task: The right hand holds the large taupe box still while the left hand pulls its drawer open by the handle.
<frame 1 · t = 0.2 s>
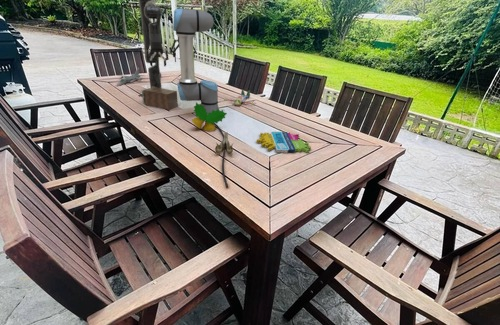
left hand: (158, 66, 182), 29 cm above the table, tool pointing down, fingers open, 8 cm apart
right hand: (184, 62, 211), 28 cm above the table, tool pointing down, fingers open, 13 cm apart
large taupe box: (162, 105, 198), on the table
airplane: (131, 81, 257), on the table
ornament: (209, 128, 165), on the table
toy: (241, 101, 221), on the table
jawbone: (224, 151, 138), on the table
sign: (281, 143, 152), on the table
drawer: (154, 96, 197), point 6 cm above the table, slide at 1.6 cm
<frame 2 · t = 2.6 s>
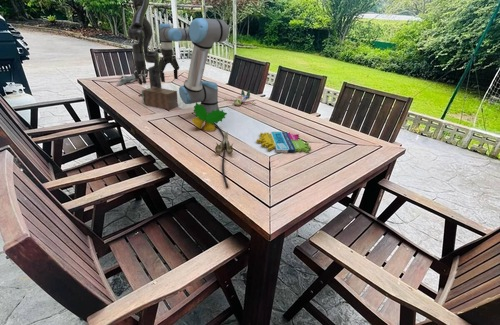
left hand: (142, 83, 196), 14 cm above the table, tool pointing down, fingers open, 3 cm apart
right hand: (169, 80, 190), 19 cm above the table, tool pointing down, fingers open, 13 cm apart
nothing on the table moved.
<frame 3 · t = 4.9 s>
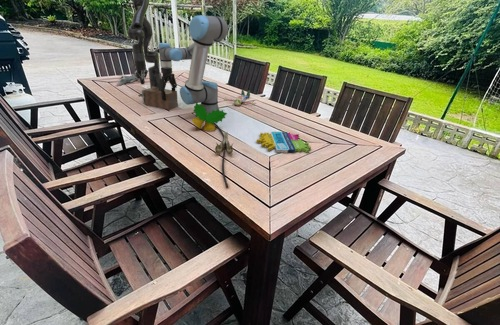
left hand: (142, 84, 196), 14 cm above the table, tool pointing down, fingers closed
right hand: (169, 98, 193), 7 cm above the table, tool pointing down, fingers closed on large taupe box, 11 cm apart
large taupe box: (162, 105, 198), on the table, touching right hand
everything else where it was.
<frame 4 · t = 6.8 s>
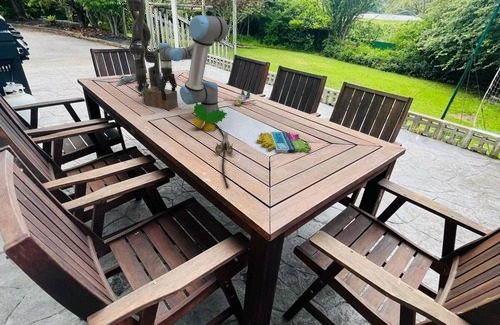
left hand: (144, 97, 201), 4 cm above the table, tool pointing down, fingers closed
right hand: (169, 98, 193), 7 cm above the table, tool pointing down, fingers closed on large taupe box, 11 cm apart
large taupe box: (162, 105, 198), on the table, touching right hand
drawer: (154, 96, 197), point 6 cm above the table, slide at 1.7 cm, touching left hand
everything else where it was.
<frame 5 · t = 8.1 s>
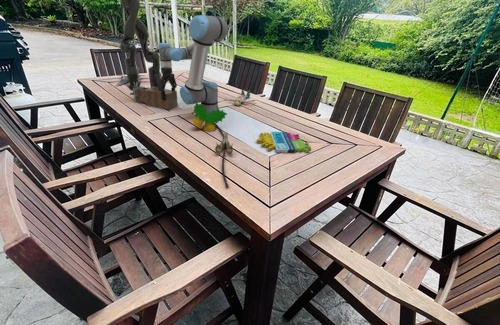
left hand: (135, 95, 203), 4 cm above the table, tool pointing down, fingers closed
right hand: (168, 98, 193), 7 cm above the table, tool pointing down, fingers closed on large taupe box, 11 cm apart
large taupe box: (161, 105, 198), on the table, touching right hand
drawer: (145, 95, 200), point 6 cm above the table, slide at 9.7 cm, touching left hand
everything else where it was.
when the right hand's fingers open (7 cm above the table, at t = 9.8 s): large taupe box stays where it is, on the table.
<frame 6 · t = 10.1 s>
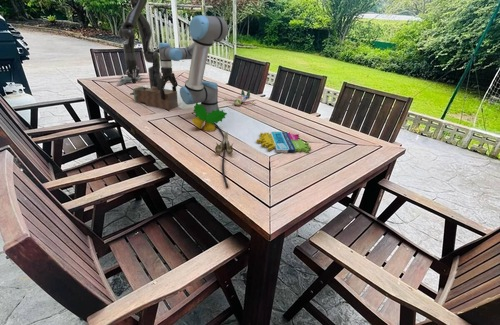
left hand: (134, 83, 199), 13 cm above the table, tool pointing down, fingers closed
right hand: (169, 97, 193), 8 cm above the table, tool pointing down, fingers open, 13 cm apart
large taupe box: (162, 105, 198), on the table
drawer: (146, 95, 200), point 6 cm above the table, slide at 9.7 cm
everything else where it was.
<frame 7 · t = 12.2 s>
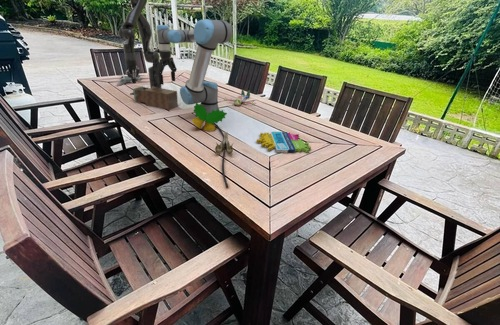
left hand: (134, 83, 199), 13 cm above the table, tool pointing down, fingers closed
right hand: (167, 82, 187), 18 cm above the table, tool pointing down, fingers open, 13 cm apart
nothing on the table moved.
at the end: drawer slide at 9.7 cm; large taupe box tilted 0°; large taupe box never tilted more than 1° during the clip; large taupe box moved 0.0 cm from its start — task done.
